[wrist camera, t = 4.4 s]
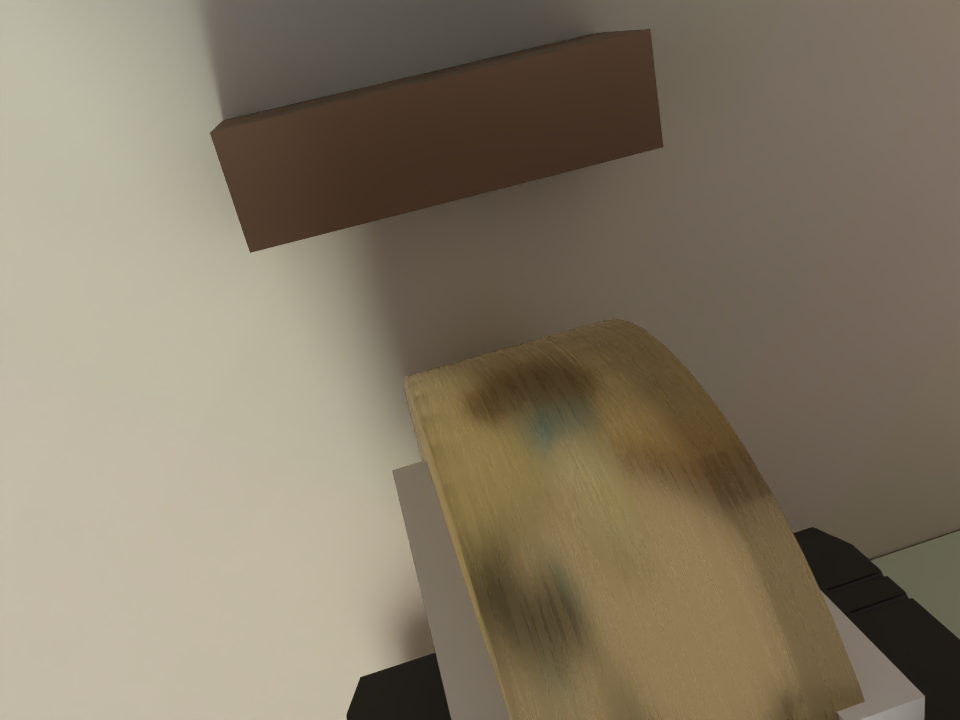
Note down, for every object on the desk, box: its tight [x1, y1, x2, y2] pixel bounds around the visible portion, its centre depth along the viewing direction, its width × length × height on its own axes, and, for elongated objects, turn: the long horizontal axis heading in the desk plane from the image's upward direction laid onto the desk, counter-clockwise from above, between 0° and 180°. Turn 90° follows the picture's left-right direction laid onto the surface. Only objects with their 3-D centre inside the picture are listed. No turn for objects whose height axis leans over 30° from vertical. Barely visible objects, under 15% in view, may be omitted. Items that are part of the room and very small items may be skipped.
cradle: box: [210, 29, 663, 253], centre depth 14 cm, size 14×6×2 cm, turn 12°
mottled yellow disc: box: [403, 319, 865, 720], centre depth 11 cm, size 3×9×9 cm, turn 12°
